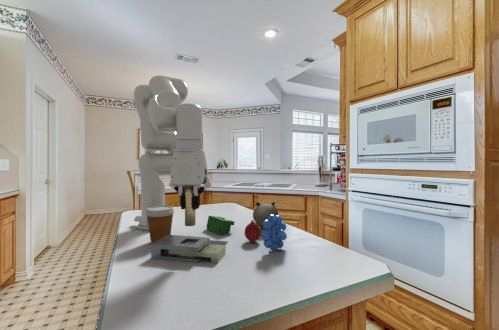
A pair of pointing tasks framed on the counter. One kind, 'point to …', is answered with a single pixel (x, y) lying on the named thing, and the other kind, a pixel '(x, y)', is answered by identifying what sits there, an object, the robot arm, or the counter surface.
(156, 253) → the clevis
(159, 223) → the disposable coffee cup
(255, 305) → the counter surface
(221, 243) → the mat
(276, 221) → the grapes
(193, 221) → the pin
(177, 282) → the counter surface
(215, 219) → the green angular piece
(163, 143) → the robot arm
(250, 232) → the onion
